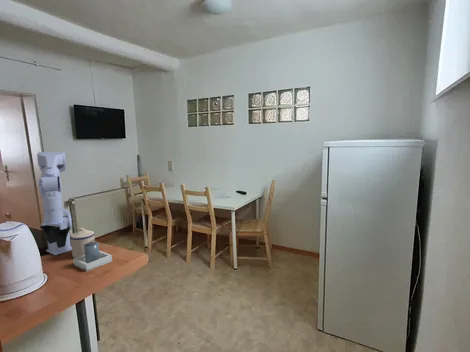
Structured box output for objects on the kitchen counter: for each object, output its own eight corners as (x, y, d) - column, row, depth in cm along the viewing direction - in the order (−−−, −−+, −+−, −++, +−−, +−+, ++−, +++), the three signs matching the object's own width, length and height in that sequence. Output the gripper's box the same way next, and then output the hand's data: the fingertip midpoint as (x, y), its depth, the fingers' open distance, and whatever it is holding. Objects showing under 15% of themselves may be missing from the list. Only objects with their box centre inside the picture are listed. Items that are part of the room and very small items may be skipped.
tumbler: (83, 262, 104) (81, 244, 103) (95, 257, 108) (94, 240, 107) (89, 265, 101) (88, 247, 100) (102, 260, 105) (100, 243, 104)
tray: (73, 264, 103) (73, 258, 103) (98, 255, 111) (98, 250, 111) (86, 271, 98) (86, 264, 97) (112, 261, 106) (111, 255, 106)
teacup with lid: (92, 257, 110) (90, 230, 108) (68, 260, 108) (65, 232, 106) (100, 246, 121) (98, 222, 120) (79, 248, 120) (76, 223, 118)
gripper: (32, 209, 97) (36, 244, 99) (49, 214, 89) (53, 252, 91) (53, 205, 103) (57, 238, 104) (71, 209, 95) (75, 246, 96)
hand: (56, 244), depth 98 cm, fingers open, 7 cm apart
